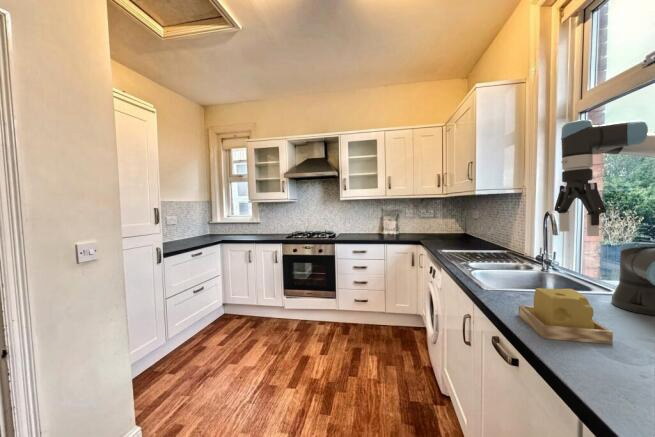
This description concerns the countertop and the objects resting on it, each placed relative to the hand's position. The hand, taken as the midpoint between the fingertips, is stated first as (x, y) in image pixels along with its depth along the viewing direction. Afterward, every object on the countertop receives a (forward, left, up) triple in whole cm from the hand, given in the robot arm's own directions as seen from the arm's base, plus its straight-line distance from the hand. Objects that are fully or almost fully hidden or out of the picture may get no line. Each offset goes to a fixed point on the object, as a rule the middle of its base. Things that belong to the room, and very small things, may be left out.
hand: (577, 233), depth 92 cm
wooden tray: (+11, +14, -27) cm, 32 cm away
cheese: (+11, +14, -26) cm, 32 cm away
